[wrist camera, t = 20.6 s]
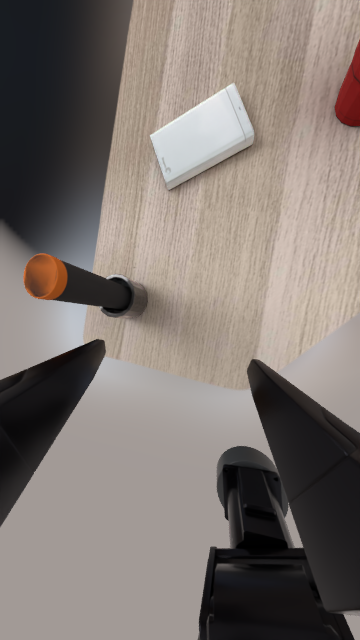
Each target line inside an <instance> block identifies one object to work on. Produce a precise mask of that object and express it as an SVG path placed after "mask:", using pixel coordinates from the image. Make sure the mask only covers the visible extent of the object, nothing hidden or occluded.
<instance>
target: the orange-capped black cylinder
mask: <svg viewBox="0 0 360 640" xmlns="http://www.w3.org/2000/svg"><path fill="white" fill-rule="evenodd" d="M24 285H25V288H26V290H27V292H28V293H29V294H30V295H31V296H33V297H35V298H38V299H45V300H57V301H64V302H72V303H78V304H86V305H93V306H100V307H107V308H115V309H122V310H126V309H127V308H128V306H129V304H130V302H131V297H132V292H131V288H128V287H126V286H123V285H121V284H118V283H116V282H113V281H111V280H108V279H106V278H103V277H101V276H98V275H96V274H93V273H91V272H88V271H86V270H84V269H81V268H78V267H76V266H73V265H71V264H69V263H66V262H63V261H61V260H59V259H57V258H55V257H53V256H50V255H48V254H38V255H35V256H34V257H33V258H31V259H30V260H29V262H28V263H27V265H26V268H25V271H24Z"/></svg>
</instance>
